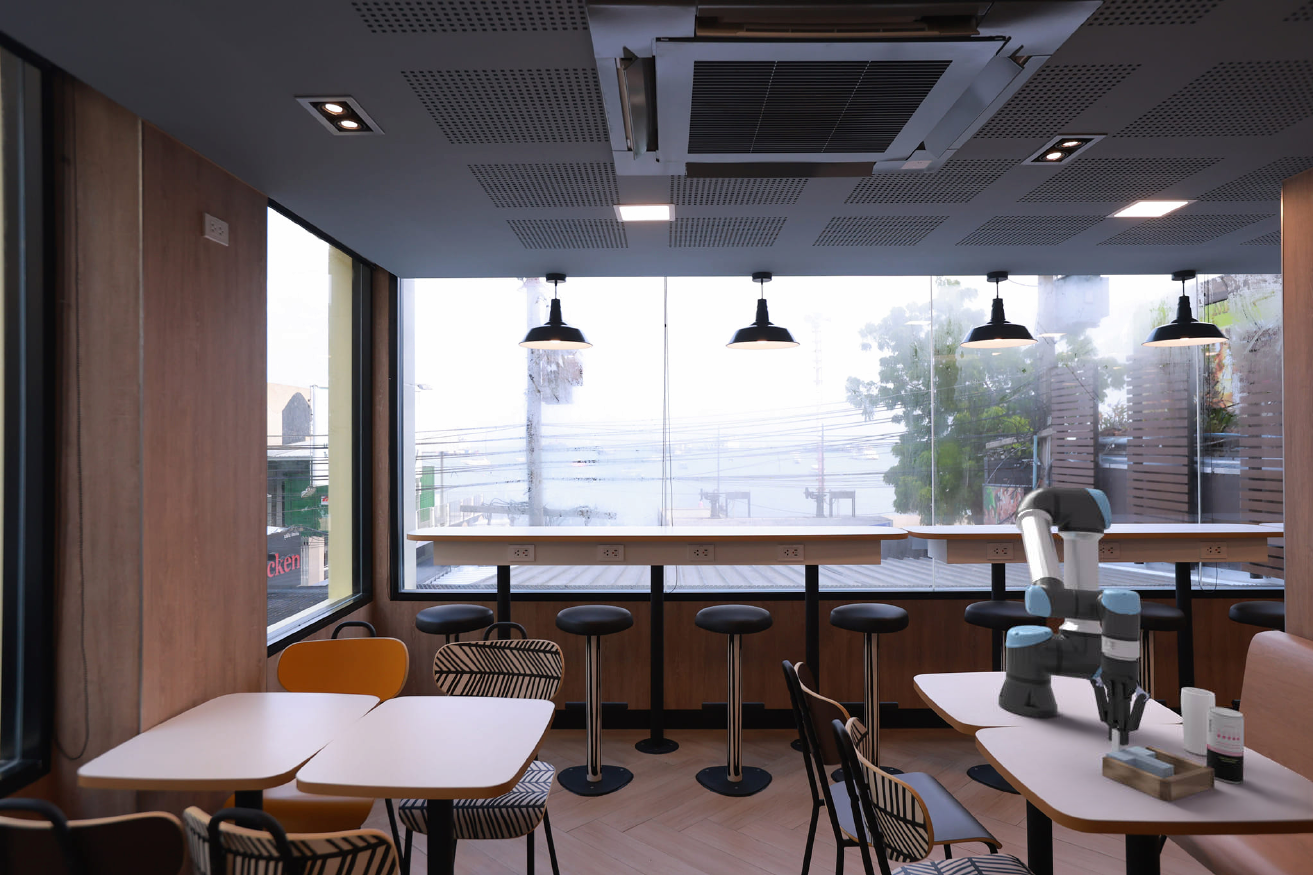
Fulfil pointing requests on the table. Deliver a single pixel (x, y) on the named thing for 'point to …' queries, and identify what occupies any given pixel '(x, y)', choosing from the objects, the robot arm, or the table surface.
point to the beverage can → (1225, 744)
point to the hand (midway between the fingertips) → (1118, 757)
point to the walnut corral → (1182, 784)
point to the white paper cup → (1195, 718)
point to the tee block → (1143, 761)
